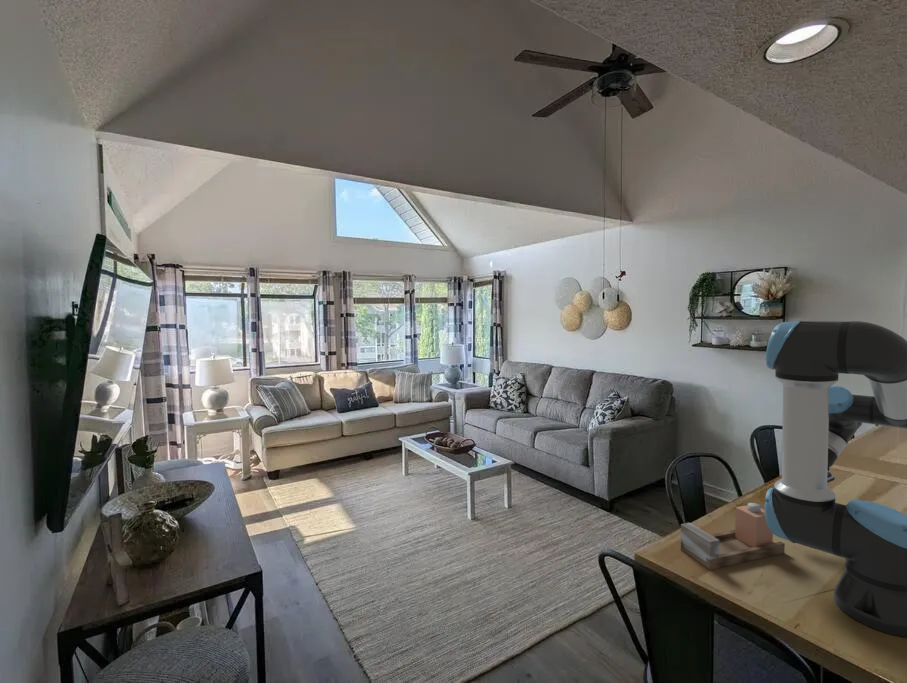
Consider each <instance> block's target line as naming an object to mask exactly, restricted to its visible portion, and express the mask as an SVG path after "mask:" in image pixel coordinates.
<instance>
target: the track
mask: <svg viewBox="0 0 907 683" xmlns="http://www.w3.org/2000/svg"><path fill="white" fill-rule="evenodd" d="M785 545H786V544H785V543H784V542H783V541H776V542H774V541H773V543H771V544H766V545H761V546H757V547H751V546H749V545H748V544H746V543H744V542H742V541H740V540H739V539H737V538H735V529H733V530H727V531H722V532H718V533H713V534H709V533H708V532H706V531H704V530H703V529H701V528H700V527H698V526H696V525H694V524H692V523H691V522H685V523H681V524H680V551H681V552H683V553H685V554H686V555H687V556H689V557H690V558H692V559H693V560H695V561H696V562H698V563H699V564H701V565H702V566H703V567H705V568H706V569H708V570H714V569H718V568H723V567H728V566H733V565H737V564H742V563H747V562H751V561H755V560H759V559H764V558H768V557H774V556H778V555H782V554H785Z"/></svg>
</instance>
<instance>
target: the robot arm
mask: <svg viewBox="0 0 907 683" xmlns="http://www.w3.org/2000/svg"><path fill="white" fill-rule="evenodd" d="M765 351H766V352H765V361H766V366H767V368H768V369H771V370H775V374H774V375H775V379H777V381H779V382H780V383H781V385H782V433H781V434H782V437H781V438H782V439H781V444H782V446H781V449H782V451H781V477H780V479H778V480H776V481H775V482H774V485H773V487H770V488H769V489H767V491H766V493H765V499H764V500H765V502H764V510H765V517H766V522H767V525H768V527H769V529H770V530H771V532H772V533H773V536H775V537H777V538H780V539H783V540H786V541H788V542H790V543H792V544H798V545H801V546H803V547H804V546H805V547H807V548H810V549H814V550H817V551H821V552H824V553H827V554H829V555H830V554H831V555H833V556H837V557H841V558H844V559H845V568H844V570H843V572H842V574H841V575H840V577H839V579H838V581H837V584H835V587H834V594H833V596H834V597H833V599H834V603H835V605H836V606H837V607H838V608H839V609H840V610H841V611H842V612H843V613H845V614H846V615H848V616H849V617H850V618H852V619H854V620H855V621H857V622H858V623H860V624H863V625H865V626H867V627H870V628H872V629H873V630H874V629H875V630H877V631H879V632H883V633H886V634H889V635H894V636H899V637H903V638H905V637H906V638H907V515H906V514H905V513H903V512H901V511H899V510H897V509H896V508H893V507H890V506H888V505H884V504H881V503H877V502H874V501H869V500H861V499H851V500H849V501H848V503H847V504H843V503H839V502H836V494H835V492H834V490H832V489H831V488H830V487H829V486H828V484H829V483H830V482H833V481H835V479H836V478H835V476H834V475H833V474H832V473H831V472H830V468H831V467H833V465H834V464H835V462H836V461H837V459H838V456H840V455H841V454H842V452H843V451H844V449H845V448H846V446H847V445H848V443H849V442H850V441H851V439H852V438H853V437H854V435H855V434H856V433H857V430H858V429H860V427H861V426H862V425H863V423H864V424H871V425H876V426H877V425H878V426H883V427H892V428H899V429H905V430H907V340H906V339H905V338H904V337H903V336H901V335H900V334H898V333H896V332H895V331H893V330H891V329H889V328H887V327H885V326H882V325H879V324H876V323H872V322H867V321H861V320H860V321H859V320H854V321H853V320H852V321H851V320H850V321H831V320H830V321H824V320H823V321H822V320H821V321H817V320H814V321H813V320H812V321H811V320H810V321H809V320H808V321H807V320H798V321H797V320H796V321H783V322H780V323H778V324H777V325H776V326H775V327H774V328H773V330H772V331H771V334H770V336H769V339H768V342H767V346H766V350H765ZM839 374H848V375H849V374H850V375H851V374H852V375H862V376H864V377H865V378H867V379H868V381H869V384H870V387H871V390H872V392H873V395H872V396H871V395H861V394H852V392H850V390H849V389H848V388H847V389H846V388H845V387H843V386H839V385H835V384H836V383H837V382H838V381H839Z"/></svg>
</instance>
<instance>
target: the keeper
mask: <svg viewBox="0 0 907 683" xmlns="http://www.w3.org/2000/svg"><path fill="white" fill-rule="evenodd" d="M734 515H735V517H734V518H735V522H734V523H735V528H734V530H735V538H737V539H739V540H740V541H742V542H744V543H746V544H748V545H749V546H751V547H757V546H761V545H766V544H771V543H773V542H774V540H773V539H774V534H773V533H772V532H771V530H770V529H769V527H768V525H767V522H766V517H765V509H763V508H762V507H761V505H760V504H758V503H756V502H748V503H747V505H742V506H741V505H740V506H736V507H735V514H734Z"/></svg>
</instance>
